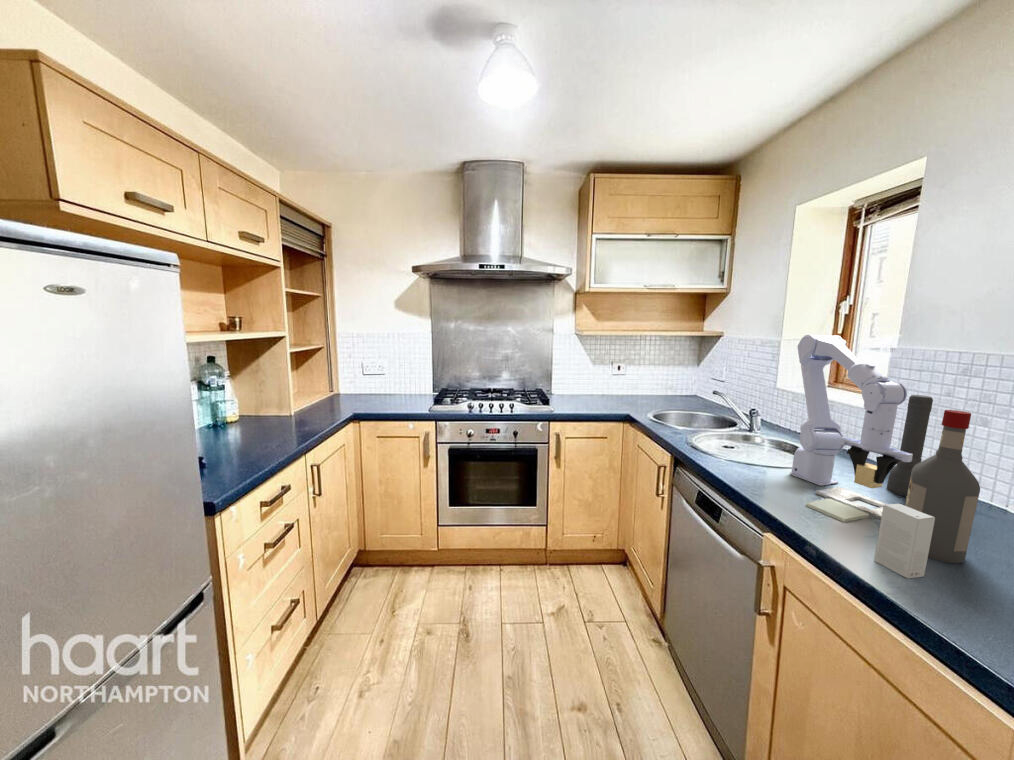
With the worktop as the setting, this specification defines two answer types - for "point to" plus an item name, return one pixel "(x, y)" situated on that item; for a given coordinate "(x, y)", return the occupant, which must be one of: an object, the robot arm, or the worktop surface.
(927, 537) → the skincare box
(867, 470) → the light wood cube
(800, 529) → the worktop surface
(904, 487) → the flashlight
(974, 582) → the worktop surface
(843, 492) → the rail plate
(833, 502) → the tile
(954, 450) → the liquor
